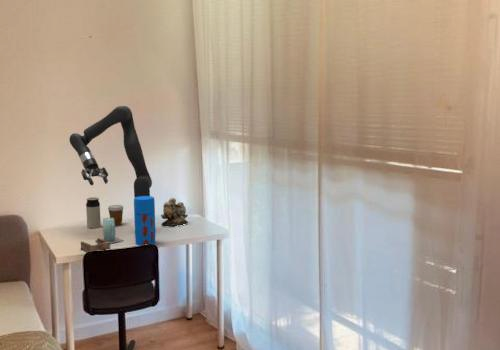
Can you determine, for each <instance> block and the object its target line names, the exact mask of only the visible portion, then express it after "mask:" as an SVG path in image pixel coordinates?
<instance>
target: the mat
mask: <svg viewBox="0 0 500 350" xmlns="http://www.w3.org/2000/svg"><path fill="white" fill-rule="evenodd" d="M102 239H103V240H104V238H102ZM95 242H96V243H97V239H96V240H95ZM122 242H125V241H124V239H122V238H121V239H120V238H119V237H116V236H115V241H111V242H110V245H113V244H116V243H122Z"/></svg>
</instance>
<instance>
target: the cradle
mask: <svg viewBox="0 0 500 350" xmlns="http://www.w3.org/2000/svg"><path fill="white" fill-rule="evenodd" d="M103 239H104V238H100V237H97V238H96V240H97V242H96V244H90V243H88V242H86V241H85V242H84V241H80V250H81V251H84V252H86V253H88V252H91V251H97V250H106V249H110V250H111V244H110V242H108V241H106V240H103ZM106 251H107V250H106Z"/></svg>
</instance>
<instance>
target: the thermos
mask: <svg viewBox="0 0 500 350" xmlns="http://www.w3.org/2000/svg"><path fill="white" fill-rule="evenodd" d="M155 205H156V204H155V197H154V196H153V195H150V196H140V197H134V198H133V212H134V214H133V215H134V216H133V217H134V238H135V244H136V245H137V246H140V245H145V244H152V245H154V244H155V243H156V236H157V235H156V215H155V214H156V212H155V210H156V207H155ZM153 243H154V244H153Z"/></svg>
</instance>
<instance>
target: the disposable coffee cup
mask: <svg viewBox="0 0 500 350" xmlns="http://www.w3.org/2000/svg"><path fill="white" fill-rule="evenodd" d="M107 210H108V214H109V218H114V225H115V227H120V226H122V224H123V213H124V206H123V205H121V204H113V205H109V206H108V207H107Z"/></svg>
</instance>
